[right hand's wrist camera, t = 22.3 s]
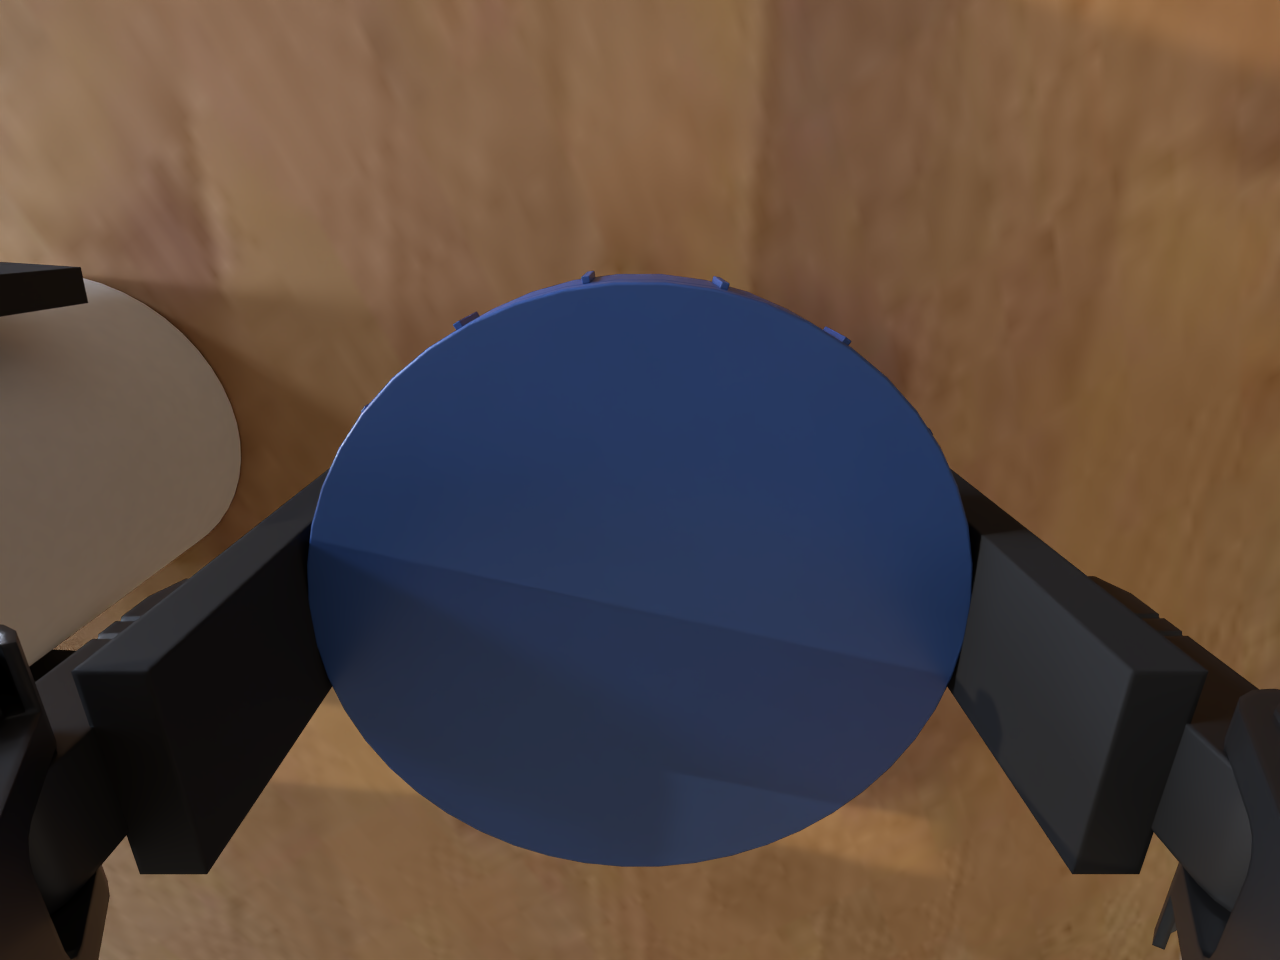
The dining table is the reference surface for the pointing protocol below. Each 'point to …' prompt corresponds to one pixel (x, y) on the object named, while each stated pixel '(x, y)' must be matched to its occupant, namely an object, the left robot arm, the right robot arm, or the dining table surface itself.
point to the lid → (639, 571)
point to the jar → (102, 459)
